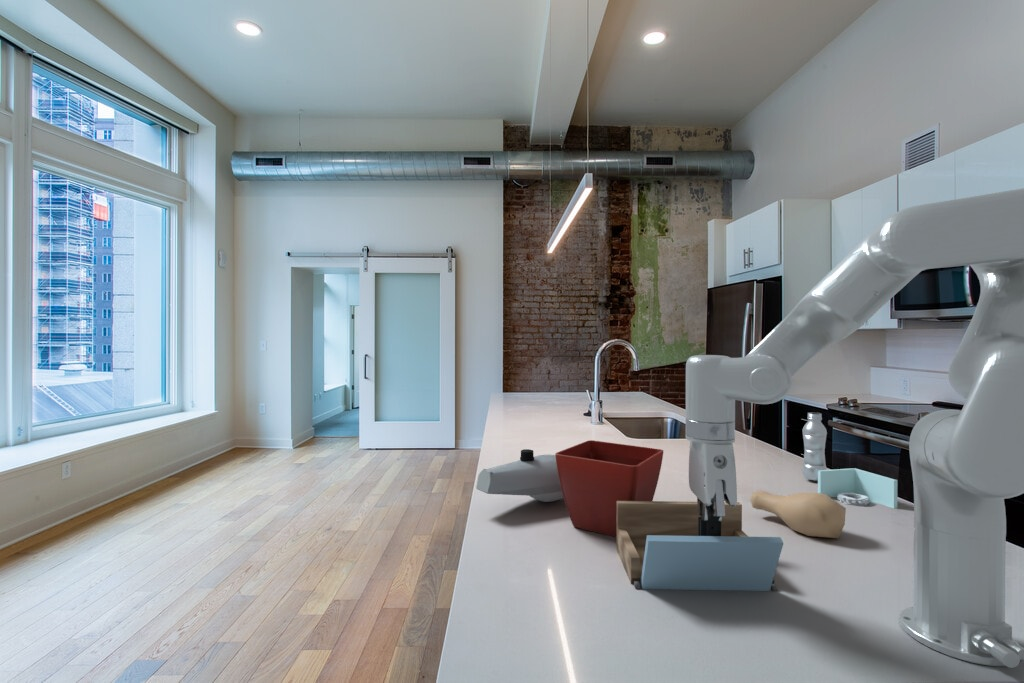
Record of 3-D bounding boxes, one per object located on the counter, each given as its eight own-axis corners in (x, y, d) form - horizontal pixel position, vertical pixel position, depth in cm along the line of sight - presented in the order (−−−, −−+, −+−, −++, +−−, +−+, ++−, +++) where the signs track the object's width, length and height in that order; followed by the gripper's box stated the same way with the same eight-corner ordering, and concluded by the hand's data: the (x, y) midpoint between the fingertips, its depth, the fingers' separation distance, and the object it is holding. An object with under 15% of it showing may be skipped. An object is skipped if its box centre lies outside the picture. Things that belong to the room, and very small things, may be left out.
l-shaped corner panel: (817, 498, 135) (817, 470, 135) (855, 495, 137) (855, 468, 137) (857, 513, 123) (857, 482, 123) (897, 510, 125) (897, 480, 125)
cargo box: (779, 594, 83) (779, 534, 83) (633, 592, 84) (633, 532, 84) (738, 552, 99) (738, 502, 99) (616, 550, 100) (616, 500, 100)
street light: (555, 487, 143) (555, 438, 143) (594, 501, 131) (594, 447, 131) (464, 508, 125) (464, 452, 125) (500, 526, 113) (500, 465, 113)
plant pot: (664, 520, 117) (665, 448, 117) (636, 549, 101) (636, 465, 101) (589, 505, 127) (589, 439, 127) (552, 529, 111) (553, 453, 111)
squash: (829, 549, 101) (829, 505, 101) (739, 519, 118) (739, 480, 118) (856, 538, 106) (856, 496, 106) (767, 511, 123) (767, 474, 123)
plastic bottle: (805, 482, 148) (805, 414, 148) (799, 476, 155) (799, 411, 155) (830, 484, 146) (830, 415, 146) (823, 477, 153) (823, 412, 153)
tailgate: (769, 591, 83) (783, 543, 79) (641, 589, 84) (648, 541, 79) (766, 585, 84) (780, 537, 80) (640, 583, 85) (646, 535, 81)
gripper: (752, 440, 74) (752, 563, 74) (717, 423, 89) (716, 526, 89) (700, 439, 75) (700, 562, 75) (674, 422, 90) (674, 525, 90)
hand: (709, 542), depth 82 cm, fingers closed
